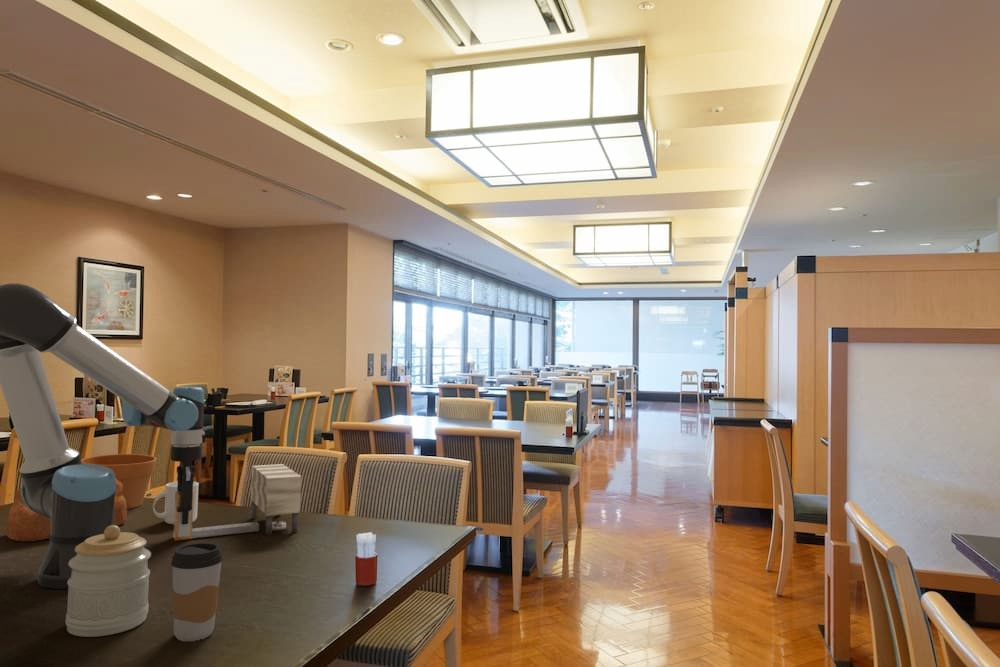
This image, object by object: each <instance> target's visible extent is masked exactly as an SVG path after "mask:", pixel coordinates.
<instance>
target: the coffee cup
mask: <svg viewBox="0 0 1000 667" xmlns="http://www.w3.org/2000/svg"><path fill="white" fill-rule="evenodd" d="M223 560H224V559H223V551H222V550H221V546H220V545H219V544H218V543H213V542H196V543H195V542H193V543H189V544H188V543H187V544H184V545H181V546H178V547H176V548H175V551H174V553H173V555H172V557H171V563H170V565H171V566H172V588H171V589H172V616H173V635H174V636H175V639H176V638H177V639H178V640H177V639H176V640H177V641H180V640H181V641H180V642H187V641H188V642H197V641H200V639H201V640H204V639H206V638H208V637H210V636H211V635H212V633H213V631H214V629H215V623H216V622H215V621H216V613H217V609H218V608H217V607H218V598H219V591H220V576H221V568H222V562H223ZM196 640H197V641H196Z"/></svg>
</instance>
